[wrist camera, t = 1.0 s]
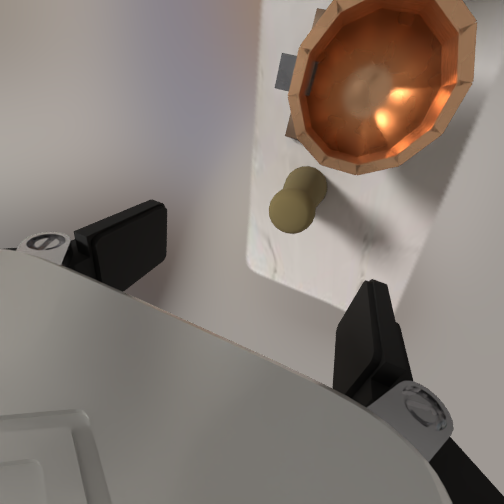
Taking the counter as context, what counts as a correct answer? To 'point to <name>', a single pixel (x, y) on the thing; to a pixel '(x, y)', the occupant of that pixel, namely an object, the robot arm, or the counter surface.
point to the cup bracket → (378, 80)
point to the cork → (298, 200)
